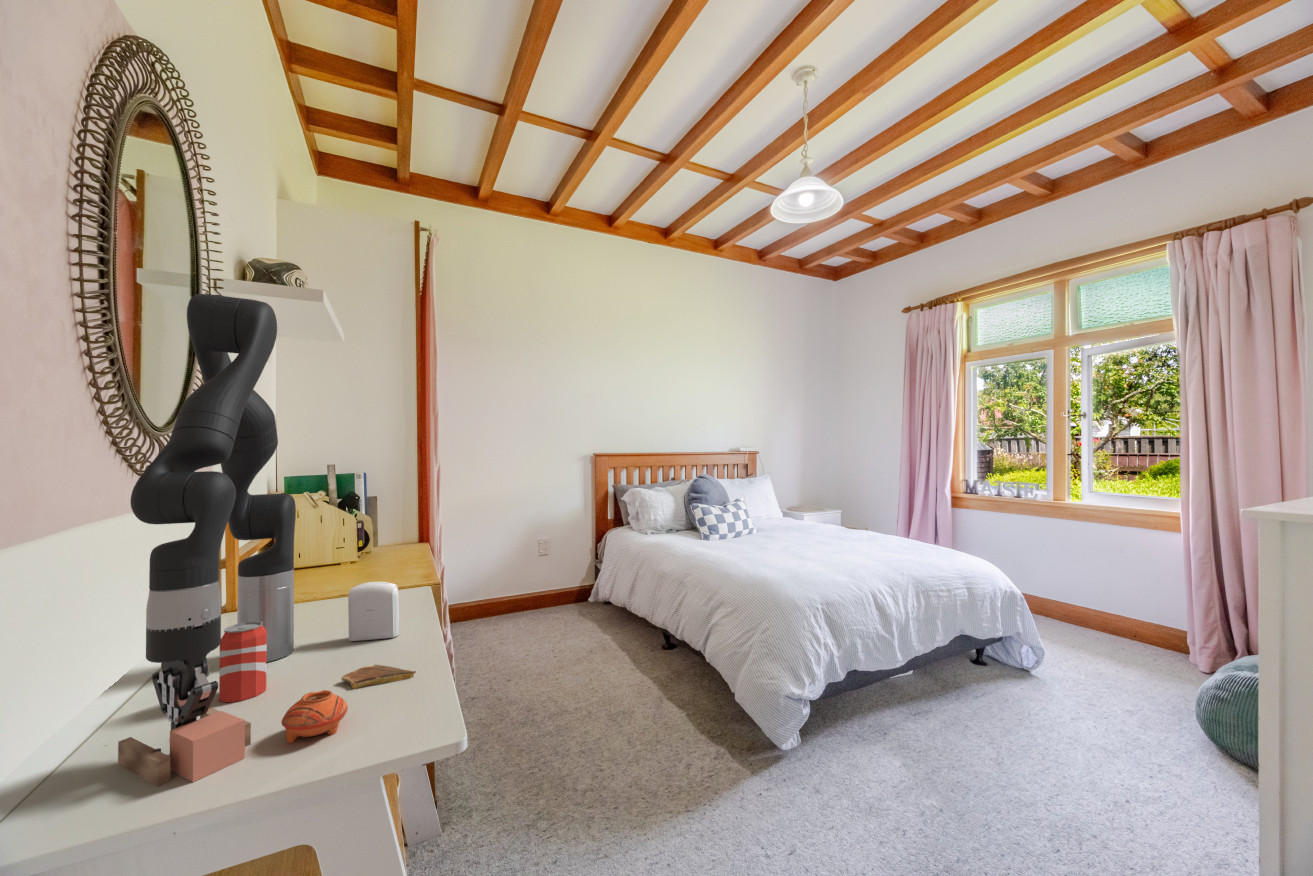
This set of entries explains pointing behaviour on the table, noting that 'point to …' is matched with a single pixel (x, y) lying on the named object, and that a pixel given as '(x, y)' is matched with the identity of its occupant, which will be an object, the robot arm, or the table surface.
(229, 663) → the beverage can
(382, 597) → the photo printer
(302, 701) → the pot
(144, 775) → the tan wooden frame
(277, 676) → the table surface
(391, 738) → the table surface
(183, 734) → the block
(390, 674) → the shard
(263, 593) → the robot arm
